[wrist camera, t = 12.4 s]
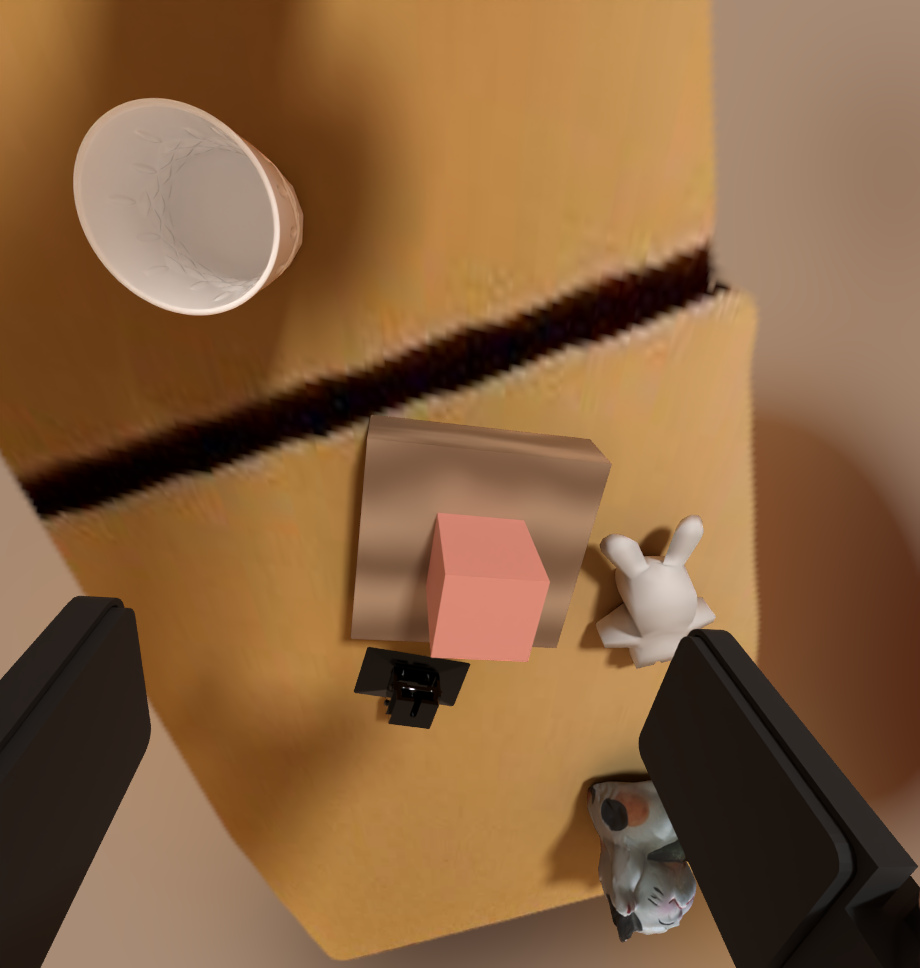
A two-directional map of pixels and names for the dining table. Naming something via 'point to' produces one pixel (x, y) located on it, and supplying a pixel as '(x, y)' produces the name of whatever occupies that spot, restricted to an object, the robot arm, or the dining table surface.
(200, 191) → the white cup
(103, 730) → the robot arm
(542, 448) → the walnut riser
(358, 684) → the black boxy gadget
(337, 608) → the dining table surface
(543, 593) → the red block
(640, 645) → the bunny figurine
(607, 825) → the lucky cat figurine
